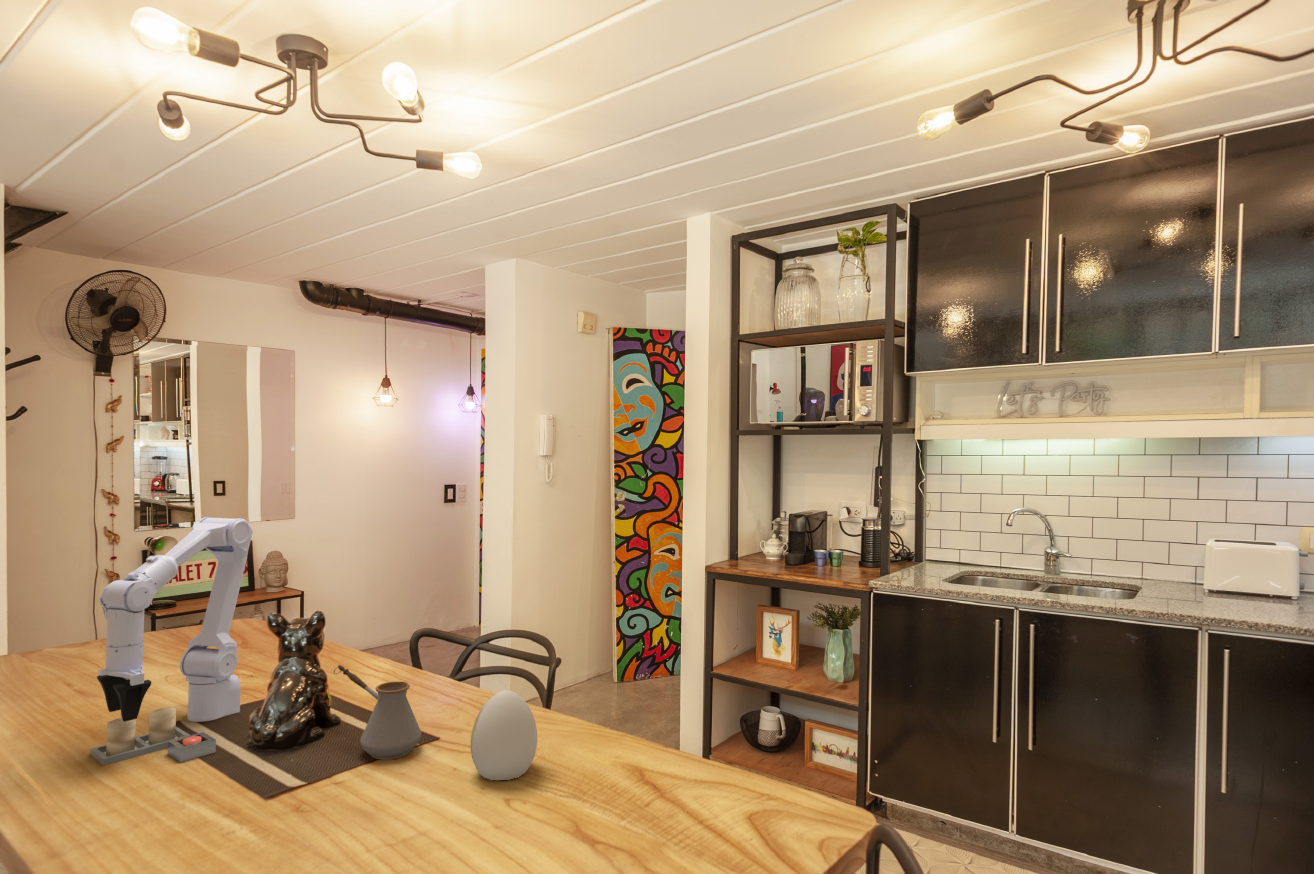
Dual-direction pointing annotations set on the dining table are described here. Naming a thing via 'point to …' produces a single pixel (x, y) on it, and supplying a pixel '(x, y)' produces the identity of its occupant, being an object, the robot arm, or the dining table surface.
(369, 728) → the coffee pot
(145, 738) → the shallow grey tray
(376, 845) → the dining table surface
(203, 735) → the button housing
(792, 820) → the dining table surface
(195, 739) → the button
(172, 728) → the cylinder
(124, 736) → the billet
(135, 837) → the dining table surface
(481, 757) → the decorative egg
